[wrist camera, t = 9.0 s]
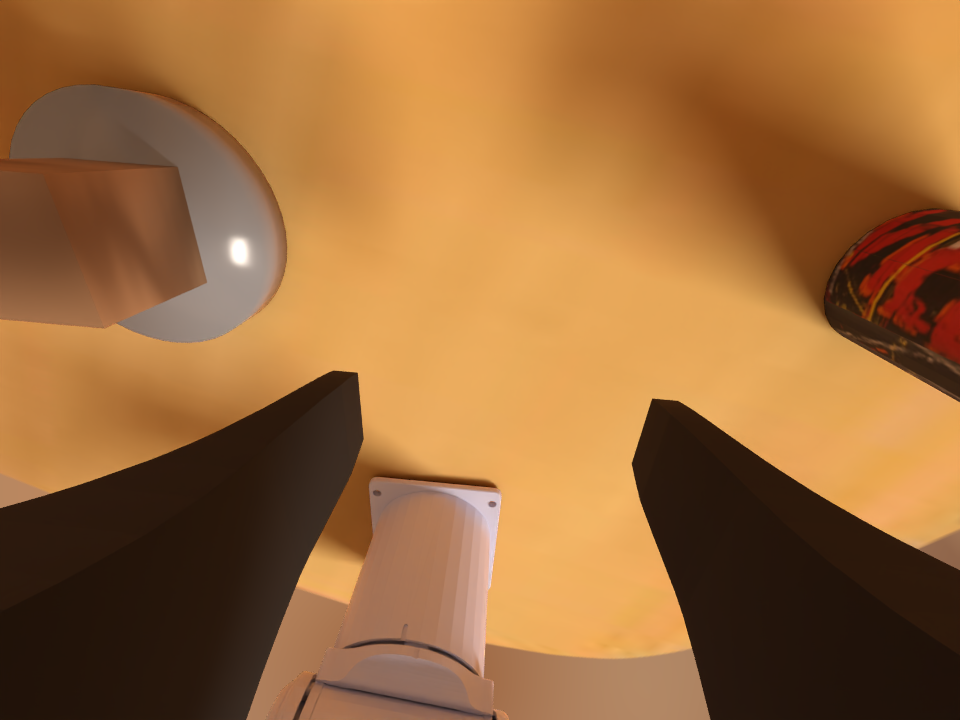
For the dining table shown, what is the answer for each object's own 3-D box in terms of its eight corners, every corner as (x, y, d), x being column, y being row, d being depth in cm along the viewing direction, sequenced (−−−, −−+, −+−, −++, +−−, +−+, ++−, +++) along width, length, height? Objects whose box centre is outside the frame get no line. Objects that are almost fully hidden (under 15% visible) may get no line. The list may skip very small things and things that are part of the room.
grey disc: (301, 333, 20) (281, 351, 19) (109, 317, 21) (71, 333, 19) (265, 100, 16) (234, 94, 14) (17, 83, 16) (-43, 75, 14)
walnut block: (207, 282, 17) (104, 328, 13) (105, 273, 17) (-32, 316, 13) (177, 166, 15) (42, 174, 11) (62, 157, 15) (-118, 161, 11)
